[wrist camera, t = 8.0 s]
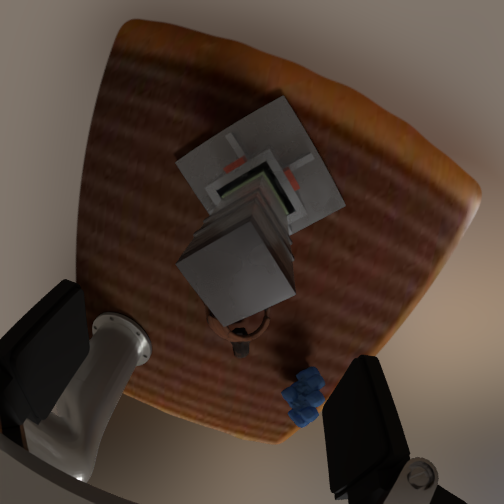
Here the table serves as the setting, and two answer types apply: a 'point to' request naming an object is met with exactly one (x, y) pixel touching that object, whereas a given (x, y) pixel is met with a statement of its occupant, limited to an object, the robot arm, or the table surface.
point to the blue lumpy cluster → (305, 396)
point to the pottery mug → (237, 333)
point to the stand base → (265, 164)
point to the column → (242, 251)
